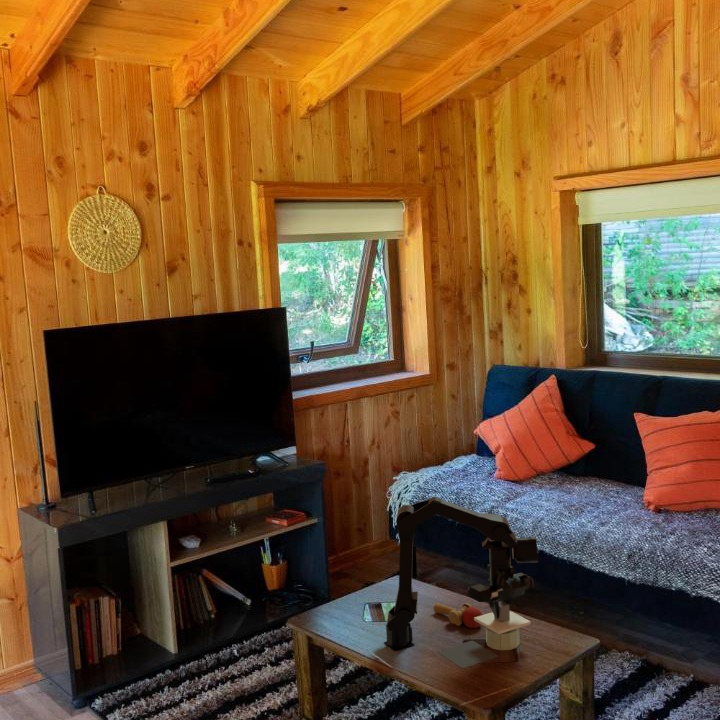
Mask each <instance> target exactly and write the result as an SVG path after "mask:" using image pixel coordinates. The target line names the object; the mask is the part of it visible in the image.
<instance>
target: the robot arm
mask: <svg viewBox="0 0 720 720" xmlns="http://www.w3.org/2000/svg"><path fill="white" fill-rule="evenodd" d="M435 516H438V517H441V518H445V519H448V520H451V521H454V522H456V523H458V524H461V525H465V526H467V527H470V528H472V529H473V528H474V529H475V530H476V531H479V532H480V533H481V534H483V535H484V536H485V537H486V539H485V540H484V541H482V542H481V545H482V548H483V549H484V550H485V549H486V550H487V549H488V552H489V553H488V554H489V564H486V569H487V570H489V578H487V584H489V586H486V585H483V584H481V583H478V584H475V585H472V586H469V587H468V588H467V597H469V598H471V599H472V600H475V601H476V602H478V603H485V602H487V604H488V606H489V608H490V609H491V612H493V614H494V616H495V618H497V619H498V618H499V602H501V600H502V601H503V602H505V603H507V604H509V611H511V609H512V606H513V603H514V601H515V598H517V597H519V596H524V594H525V591H526V590H529V589H532V588H534V580H533V577H531V576H529V575H528V574H524V573H523V572H519V573H516V572H515V569H514V568H515V567H514V566H512V564H511V563H512V562H511V561H512V560H515V562H517V564H523V563H524V564H525V563H527V564H528V563H539V551H538V544H537V537H536V536H529V537H517V536H516V534H515V533H514V532H513V530H511V528H510V525H509V521H508V520H507V517H505V516H503V515H500V514H494V513H482V512H481V513H480V512H477V511H474V510H472V509H469V508H466V507H463V506H461V505H457V504H455V503H452V502H450V501H446V500H444V499H441V498H440V497H438V496H433V497H431V498H428V499H426V500H422V501H418V502H416V503H413V504H411V505H410V504H404V505H402V506H401V507H400V508H399V509H398V510H397V515H396V521H395V522H396V528H397V529H396V530H397V534H398V538H399V565H398V566H399V569H398V570H399V571H398V587H397V588H398V589H397V593H396V598H395V602H394V605H393V606H392V608H391V609H389V611H388V613H387V621H386V625H385V630H386V641H384V642H383V644H384V645H386V646H387V647H388V648H389V649H391V651H394V652H399V651H403V650H405V649H409V648H412V647H415V643H414V642H413V627H411V626H412V625H411V622H412V621H414V619H415V616H416V615H417V614H418V595H419V591H413V590H414V589H413V586H412V585H413V558H414V557H413V552H414V548H413V547H414V539H415V535H416V531H417V526H418V525H421V524H423V523H425V522H426V521H428V520H429V519H431V518H432V517H435ZM511 549H512V550H511ZM511 551H512V552H511ZM511 553H512V560H511ZM499 592H501V597H500V596H499Z"/></svg>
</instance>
